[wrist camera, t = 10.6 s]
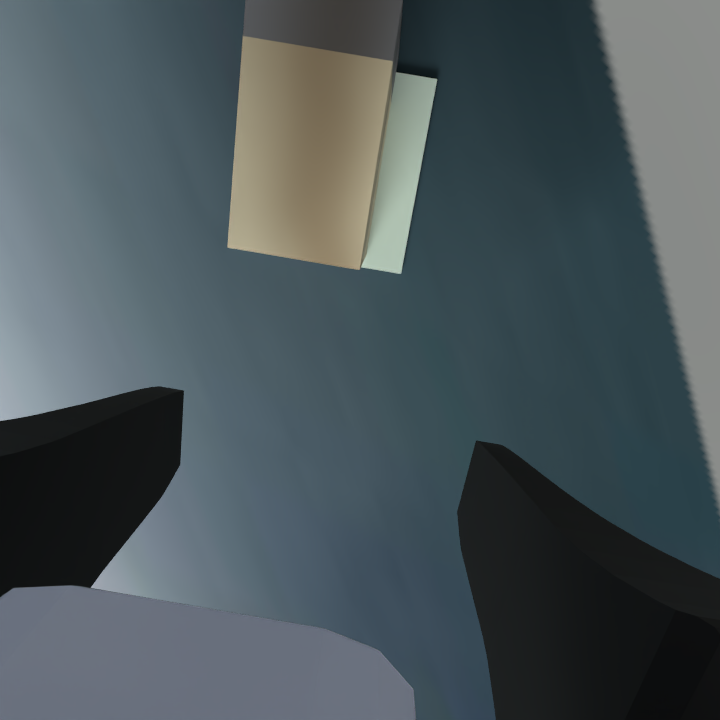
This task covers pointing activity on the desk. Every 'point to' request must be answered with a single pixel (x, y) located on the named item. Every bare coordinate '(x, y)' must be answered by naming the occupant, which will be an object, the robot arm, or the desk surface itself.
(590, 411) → the desk surface
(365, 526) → the desk surface
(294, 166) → the block
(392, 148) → the pad
